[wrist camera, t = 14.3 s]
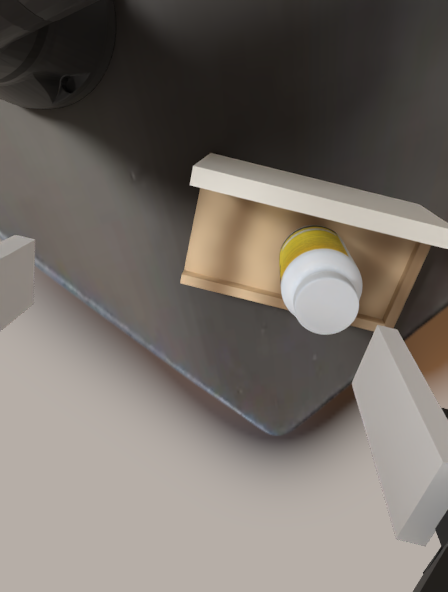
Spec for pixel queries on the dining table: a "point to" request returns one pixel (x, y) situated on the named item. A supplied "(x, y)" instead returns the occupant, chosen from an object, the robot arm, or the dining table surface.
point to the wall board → (319, 199)
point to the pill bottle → (319, 280)
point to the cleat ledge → (266, 248)
